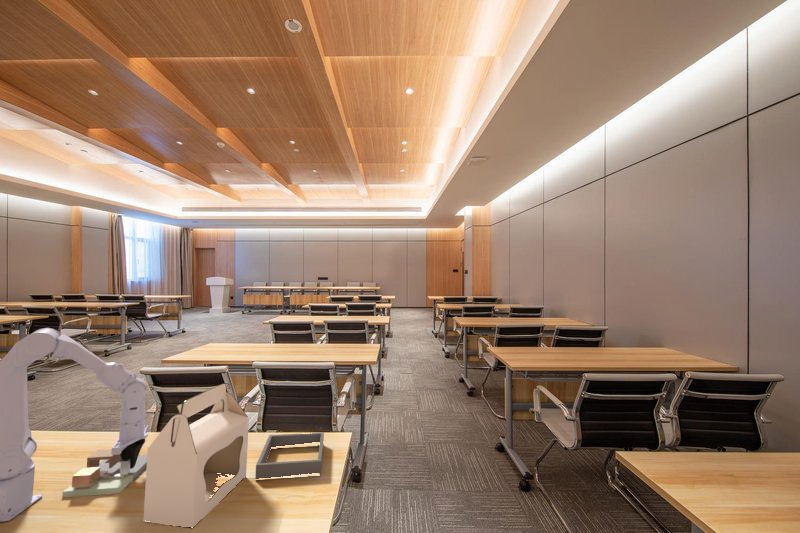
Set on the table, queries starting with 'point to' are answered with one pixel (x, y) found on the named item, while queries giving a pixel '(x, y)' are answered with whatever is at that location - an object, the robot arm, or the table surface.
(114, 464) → the track
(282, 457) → the table surface
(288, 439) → the tray
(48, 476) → the table surface
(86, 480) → the sled
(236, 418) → the gable box
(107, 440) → the table surface
